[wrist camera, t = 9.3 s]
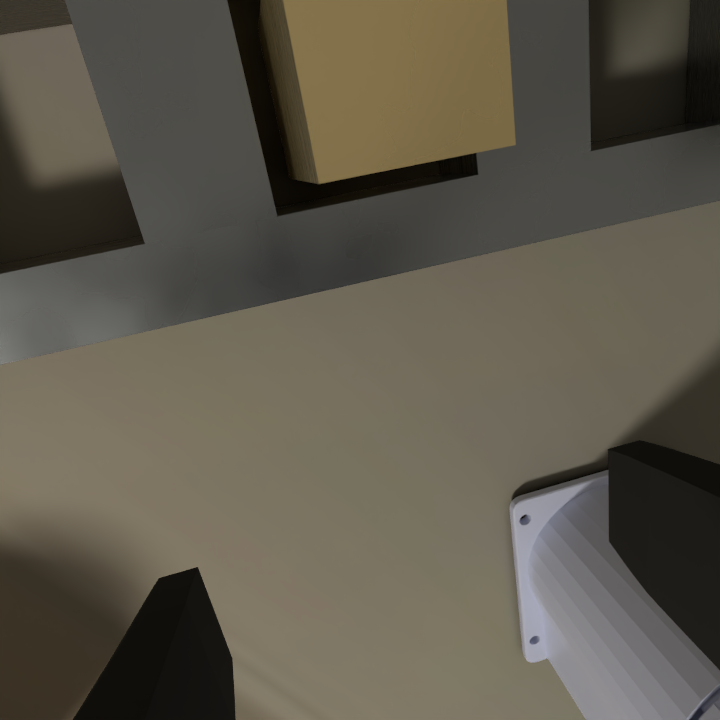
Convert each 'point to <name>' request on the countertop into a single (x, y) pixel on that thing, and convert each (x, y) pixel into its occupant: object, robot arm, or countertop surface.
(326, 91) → the brass peg
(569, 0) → the rail
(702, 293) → the countertop surface
